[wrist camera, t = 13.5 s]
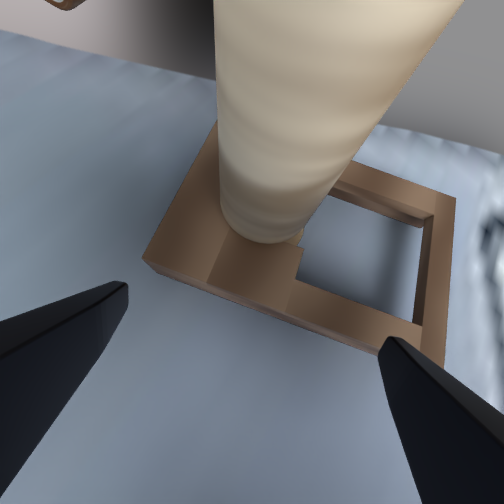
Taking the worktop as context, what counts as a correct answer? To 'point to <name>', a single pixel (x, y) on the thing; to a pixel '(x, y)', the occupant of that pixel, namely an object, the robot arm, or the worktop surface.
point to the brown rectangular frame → (289, 256)
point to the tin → (65, 4)
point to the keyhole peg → (306, 97)
